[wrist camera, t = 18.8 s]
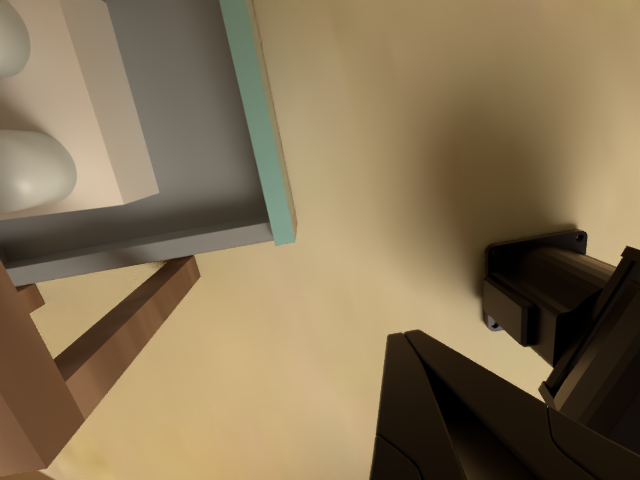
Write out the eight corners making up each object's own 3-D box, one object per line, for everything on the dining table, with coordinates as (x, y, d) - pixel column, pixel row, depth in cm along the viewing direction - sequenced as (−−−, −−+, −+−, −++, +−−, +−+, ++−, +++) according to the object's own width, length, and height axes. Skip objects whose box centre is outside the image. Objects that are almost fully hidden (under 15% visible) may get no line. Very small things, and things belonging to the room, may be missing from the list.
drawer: (231, -107, 14) (203, -200, 10) (297, 222, 19) (295, 242, 15) (-145, -36, 14) (-308, -100, 11) (15, 272, 19) (-57, 304, 15)
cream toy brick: (106, 3, 14) (-26, -90, 9) (159, 192, 17) (85, 217, 11) (-21, 19, 14) (-236, -64, 9) (53, 206, 17) (-75, 237, 11)
